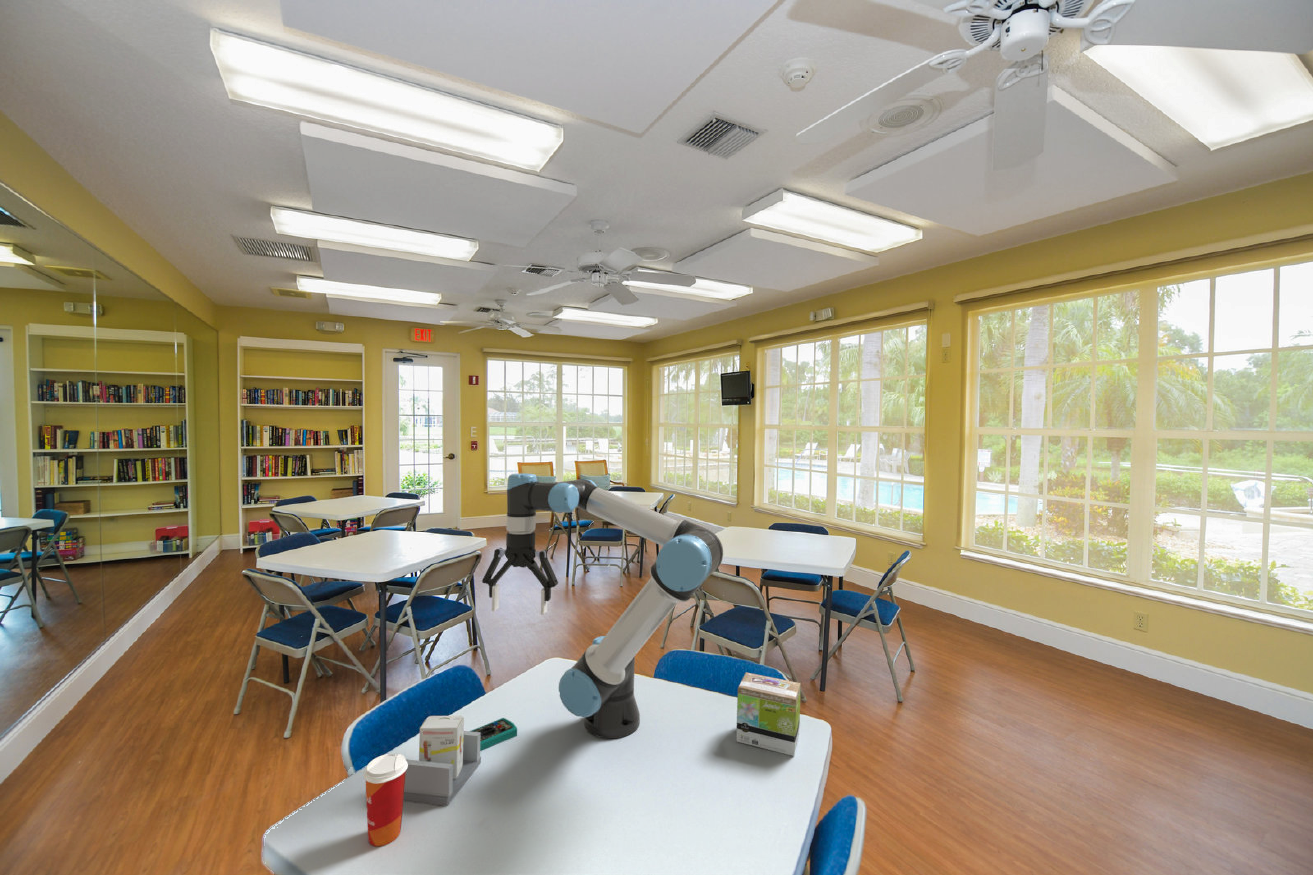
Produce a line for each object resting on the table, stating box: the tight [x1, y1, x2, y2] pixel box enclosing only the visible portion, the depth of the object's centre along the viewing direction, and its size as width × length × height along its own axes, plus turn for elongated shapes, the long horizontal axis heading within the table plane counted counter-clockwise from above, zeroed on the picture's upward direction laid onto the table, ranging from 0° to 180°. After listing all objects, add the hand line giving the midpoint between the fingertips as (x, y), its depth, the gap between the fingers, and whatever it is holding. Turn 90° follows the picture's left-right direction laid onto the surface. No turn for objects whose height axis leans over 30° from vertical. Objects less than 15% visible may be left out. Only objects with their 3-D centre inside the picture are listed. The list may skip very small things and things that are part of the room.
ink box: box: [418, 715, 465, 779], centre depth 118 cm, size 9×5×12 cm, turn 94°
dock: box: [403, 730, 482, 807], centre depth 118 cm, size 12×15×8 cm
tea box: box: [736, 672, 802, 757], centre depth 137 cm, size 15×10×15 cm, turn 68°
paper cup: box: [363, 753, 408, 847], centre depth 102 cm, size 8×8×14 cm
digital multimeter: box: [469, 717, 518, 752], centre depth 134 cm, size 7×15×3 cm, turn 135°
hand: (519, 611), depth 139 cm, fingers open, 13 cm apart
